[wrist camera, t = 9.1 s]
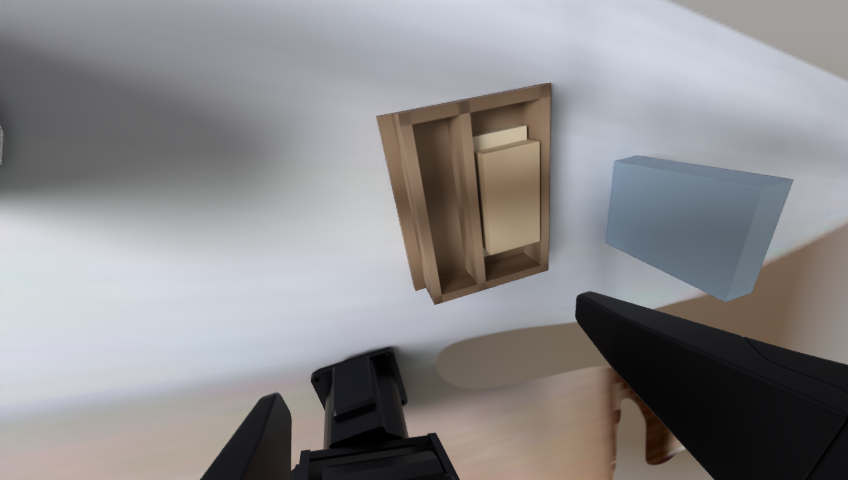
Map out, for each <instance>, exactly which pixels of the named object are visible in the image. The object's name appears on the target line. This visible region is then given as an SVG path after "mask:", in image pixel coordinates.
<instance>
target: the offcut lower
mask: <svg viewBox="0 0 848 480" xmlns="http://www.w3.org/2000/svg"><path fill="white" fill-rule="evenodd" d="M472 139H473V149H474V151H478V150H482V149H486V148H491V147H495V146H500V145H504V144H509V143H513V142H517V141H522V140H526V139H527V126H526V125H511V126H507V127H502V128H497V129H493V130H488V131H483V132H479V133H474V134H472ZM483 255H484V257H485V256H489V255H490V254H489V253H488V252H487V251H486V250H485V249H484V248H483Z"/></svg>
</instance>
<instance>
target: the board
mask: <svg viewBox="0 0 848 480" xmlns="http://www.w3.org/2000/svg"><path fill="white" fill-rule="evenodd" d="M792 182H793V179H788V178H781V177H775V176H768V175H761V174H755V173H748V172H741V171H735V170H728V169H721V168H715V167H708V166H702V165H695V164H688V163H682V162H675V161H668V160H662V159H655V158H648V157H642V156H633V157H629V158H625V159H621V160H617V161H614V167H613V176H612V186H611V195H610V205H609V214H608V224H607V234H606V243H607V244H609V245H611V246H613V247H615V248H617V249H619V250H621V251H623V252H625V253H627V254H629V255H631V256H633V257H635V258H637V259H639V260H641V261H643V262H645V263H647V264H649V265H651V266H654V267H656V268H658V269H660V270H662V271H664V272H666V273H668V274H670V275H672V276H674V277H676V278H678V279H680V280H682V281H684V282H686V283H688V284H690V285H692V286H694V287H696V288H698V289H700V290H702V291H704V292H706V293H708V294H710V295H712V296H714V297H716V298H718V299H720V300H722V301H725V302H727V301H730V300H732V299H735V298H738V297H741V296H743V295H746V294H749V293H751V292H752V290H753V287H754V285H755V282H756V279H757V277H758V274H759V271H760V269H761V266H762V263H763V261H764V258H765V255H766V252H767V250H768V247H769V244H770V242H771V239H772V236H773V233H774V231H775V228H776V225H777V223H778V220H779V217H780V214H781V212H782V209H783V206H784V204H785V201H786V198H787V196H788V193H789V190H790V187H791V185H792Z"/></svg>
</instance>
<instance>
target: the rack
mask: <svg viewBox="0 0 848 480" xmlns="http://www.w3.org/2000/svg"><path fill="white" fill-rule="evenodd" d="M376 117H377V122H378V126H379V131H380V135H381V140H382V144H383V149H384V153H385V158H386V162H387V167H388V171H389V176H390V181H391V185H392V190H393V194H394V199H395V203H396V208H397V212H398V217H399V221H400V226H401V230H402V235H403V239H404V244H405V249H406V253H407V258H408V262H409V267H410V271H411V276H412V280H413V285H414V288H415V290H416V291H417V290H420V289H424V288H426V289H427V291H428V293H429V295H430V297H431V299H432V301H433V303H434V305H436V304H439V303H443V302H446V301H449V300H453V299H456V298H459V297H462V296H466V295H469V294H472V293H475V292H479V291H482V290H485V289H488V288H492V287H495V286H498V285H501V284H505V283H508V282H511V281H515V280H518V279H521V278H524V277H528V276H531V275H534V274H537V273H541V272H544V271H547V270H548V254H549V217H550V144H551V83H545V84H540V85H534V86H529V87H524V88H519V89H514V90H509V91H504V92H498V93H493V94H488V95H483V96H478V97H473V98H468V99H462V100H457V101H452V102H447V103H442V104H437V105H432V106H427V107H421V108H416V109H411V110H406V111H401V112H396V113H391V114H385V115H380V116H376ZM511 125H526V126H527V139H528V140H534V141H540V241H538V242H535V243H531V244H528V245H524V246H521V247H517V248H514V249H510V250H507V251H503V252H500V253H497V254H493V255H489V256H485V257H484V255H483V245H482V234H481V224H480V213H479V202H478V192H477V181H476V171H475V160H474V149H473V139H472V134H474V133H479V132H483V131H488V130H493V129H497V128H502V127H507V126H511Z"/></svg>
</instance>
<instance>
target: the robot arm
mask: <svg viewBox="0 0 848 480" xmlns="http://www.w3.org/2000/svg"><path fill="white" fill-rule="evenodd" d="M575 317H576V320H577V322H578V324H579V325H580V326H581V328H582V329H583V330H584V332H585V333H586V334H587V335H588V337H589V338H590V340H591V341H592V342H593V343H594V345H595V346H596V347H597V349H598V350H599V351H600V353H601V354H602V355H603V357H604V358H605V359H606V361H608V363H609V364H610V365H611V367H612V368H613V369H614V370H615V371H616V372H617V373H618V375H619V376H620V377H621V378H622V379H623V380H624V381H625V382H626V383H627V384H628V385H629V387H630V388H631V389H632V390H633V391H634V392H635V393H636V394H637V395H638V396H639V398H640V399H641V400H642V401H643V402H644V403H645V404H646V405H647V406H648V407H649V409H650V410H651V411H652V412H653V413H654V414H655V415H656V416H657V417H658V418H659V420H660V421H661V422H662V423H663V424H664V425H665V426H666V427H667V428H668V429H669V430H670V432H671V433H672V434H673V435H674V436H675V437H676V438H677V439H678V440H679V441H680V443H681V444H682V445H683V446H684V447H685V448H686V449H687V450H688V451H689V452H690V454H691V455H692V456H693V457H694V458H695V459H696V460H697V461H698V462H699V463H700V464H701V466H702V467H703V468H704V469H705V470H706V471H707V472H708V473H709V474H710V475H711V476H712V478H713V479H714V480H848V365H847V364H843V363H839V362H834V361H831V360H827V359H823V358H819V357H815V356H811V355H808V354H804V353H800V352H796V351H792V350H789V349H785V348H781V347H778V346H775V345H771V344H767V343H764V342H761V341H758V340H754V339H751V338H748V337H742V336H740V335H737V334H734V333H730V332H727V331H724V330H720V329H717V328H714V327H710V326H707V325H703V324H700V323H697V322H693V321H690V320H686V319H683V318H680V317H676V316H673V315H670V314H666V313H662V312H659V311H656V310H653V309H649V308H646V307H642V306H639V305H636V304H632V303H629V302H626V301H622V300H619V299H615V298H612V297H609V296H605V295H602V294H598V293H595V292H591V291H589V292H585V293H582V294H579V295H578V296H577V298H576V311H575ZM387 354H390V355H388V356H386V355H387ZM316 377H320V378H316ZM311 383H312V385H313V387H314V389H315V391H316V393H317V395H318V397H319V399H320V401H321V403H322V406H323V408H324V410H325V427H324V449H323V450H316V451H310V450H303V451H301V455H300V462H299V464H297V465H296V466H295V468H294V469H293V470H292V471H291V426H292V419H291V414H290V411H289V409H288V407H287V405H286V403H285V402H284V400H283V398H282V396H281V395H280V394H279V393H278V392H275V393H272V394H269V395H266V396H263V397H262V398H261V399H260V400H259V401H258V402H257V403H256V405H255V406H254V408H253V409H252V410H251V412H250V413H249V414H248V416H247V417H246V418H245V420H244V421H243V422H242V424H241V425H240V426H239V428H238V429H237V430H236V432H235V433H234V434H233V436H232V437H231V439H230V440H229V441H228V443H227V444H226V445H225V447H224V448H223V449H222V451H221V452H220V453H219V455H218V456H217V457H216V459H215V460H214V461H213V463H212V464H211V465H210V467H209V468H208V470H207V471H206V472H205V474H204V475H203V476H202V478H201V479H200V480H460V479H459V477H458V475H457V473H456V471H455V469H454V467H453V465H452V463H451V462H450V460H449V458H448V456H447V454H446V452H445V450H444V448H443V446H442V444H441V442H440V440H439V438H438V436H437V434H436V433H429V434H428V435H426V436H418V437H411V438H409V436H408V431H407V427H406V422H405V417H404V413H403V408H402V406H404V405H406V404H407V402H408V400H407V396H406V393H405V389H404V386H403V382H402V379H401V375H400V372H399V368H398V365H397V362H396V358H395V355H394V351H393V350H392V349H391V348H386V349H383V350H380V351H377V352H374V353H371V354H367V355H364V356H361V357H358V358H355V359H352V360H349V361H346V362H343V363H340V364H336V365H333V366H330V367H327V368H324V369H321V370H318V371H315V372H313V373H312V375H311Z"/></svg>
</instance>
